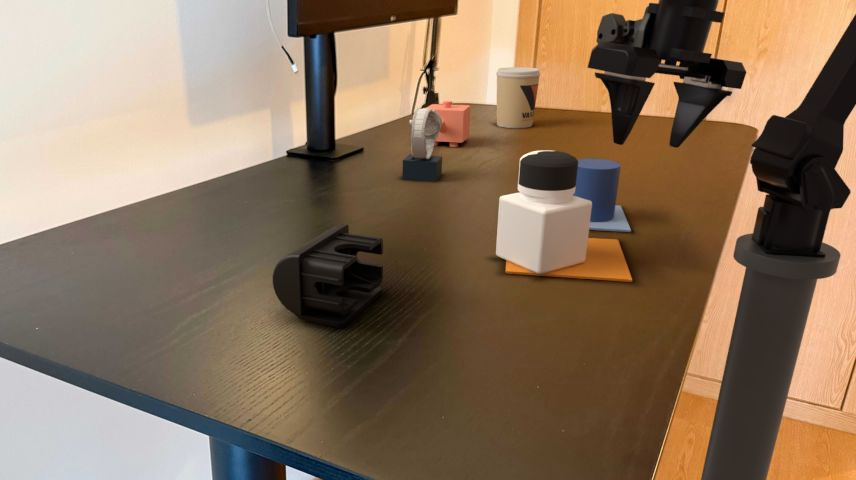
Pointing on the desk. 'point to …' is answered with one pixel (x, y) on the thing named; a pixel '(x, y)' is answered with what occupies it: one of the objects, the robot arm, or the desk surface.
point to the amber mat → (590, 263)
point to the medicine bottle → (544, 215)
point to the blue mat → (613, 223)
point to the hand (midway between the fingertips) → (646, 145)
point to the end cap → (329, 277)
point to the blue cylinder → (598, 186)
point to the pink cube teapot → (452, 122)
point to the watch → (423, 147)
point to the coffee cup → (516, 96)
